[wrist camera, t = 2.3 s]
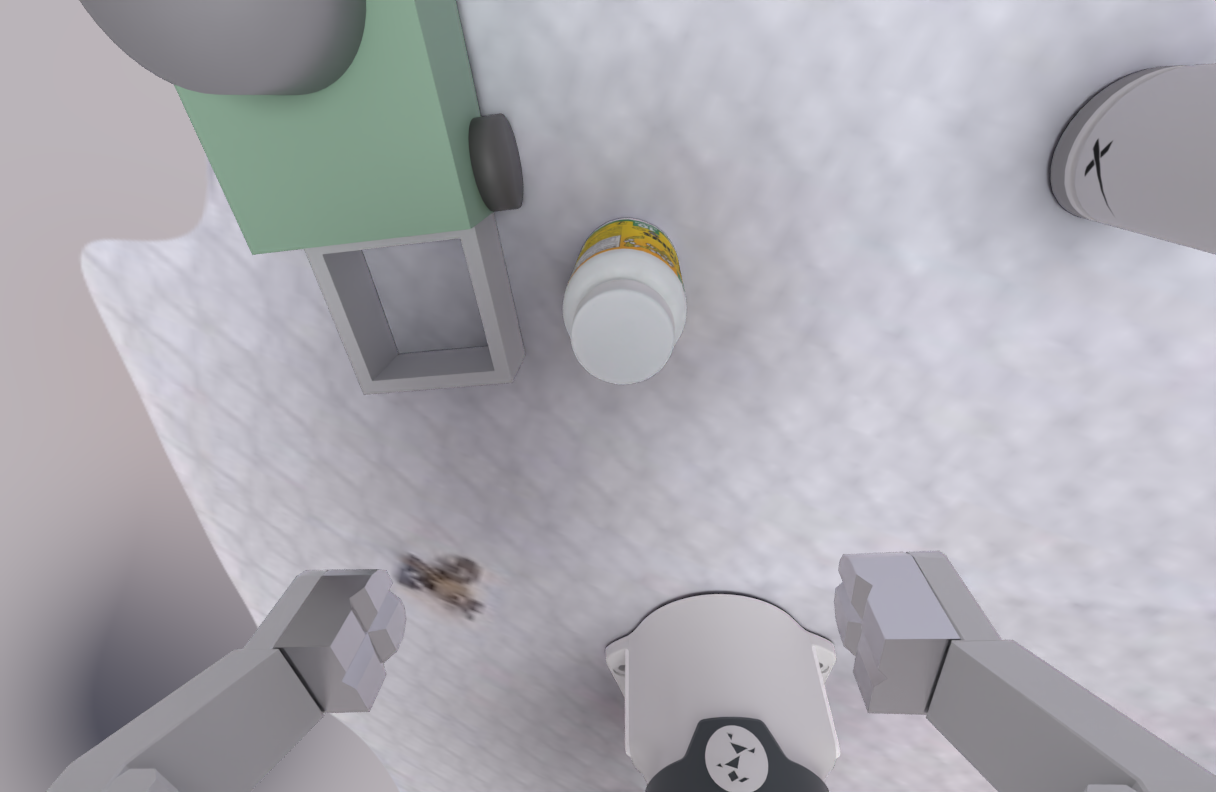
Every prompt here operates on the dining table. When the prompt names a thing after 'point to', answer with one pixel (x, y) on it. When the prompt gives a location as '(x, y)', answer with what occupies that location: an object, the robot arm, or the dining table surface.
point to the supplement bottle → (625, 302)
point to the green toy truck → (346, 152)
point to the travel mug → (1145, 156)
